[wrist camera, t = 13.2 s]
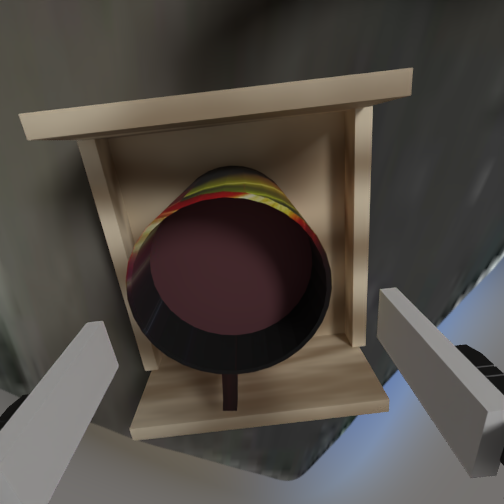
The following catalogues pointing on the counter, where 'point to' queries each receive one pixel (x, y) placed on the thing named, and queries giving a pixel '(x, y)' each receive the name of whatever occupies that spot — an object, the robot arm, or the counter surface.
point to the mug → (229, 277)
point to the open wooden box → (297, 191)
